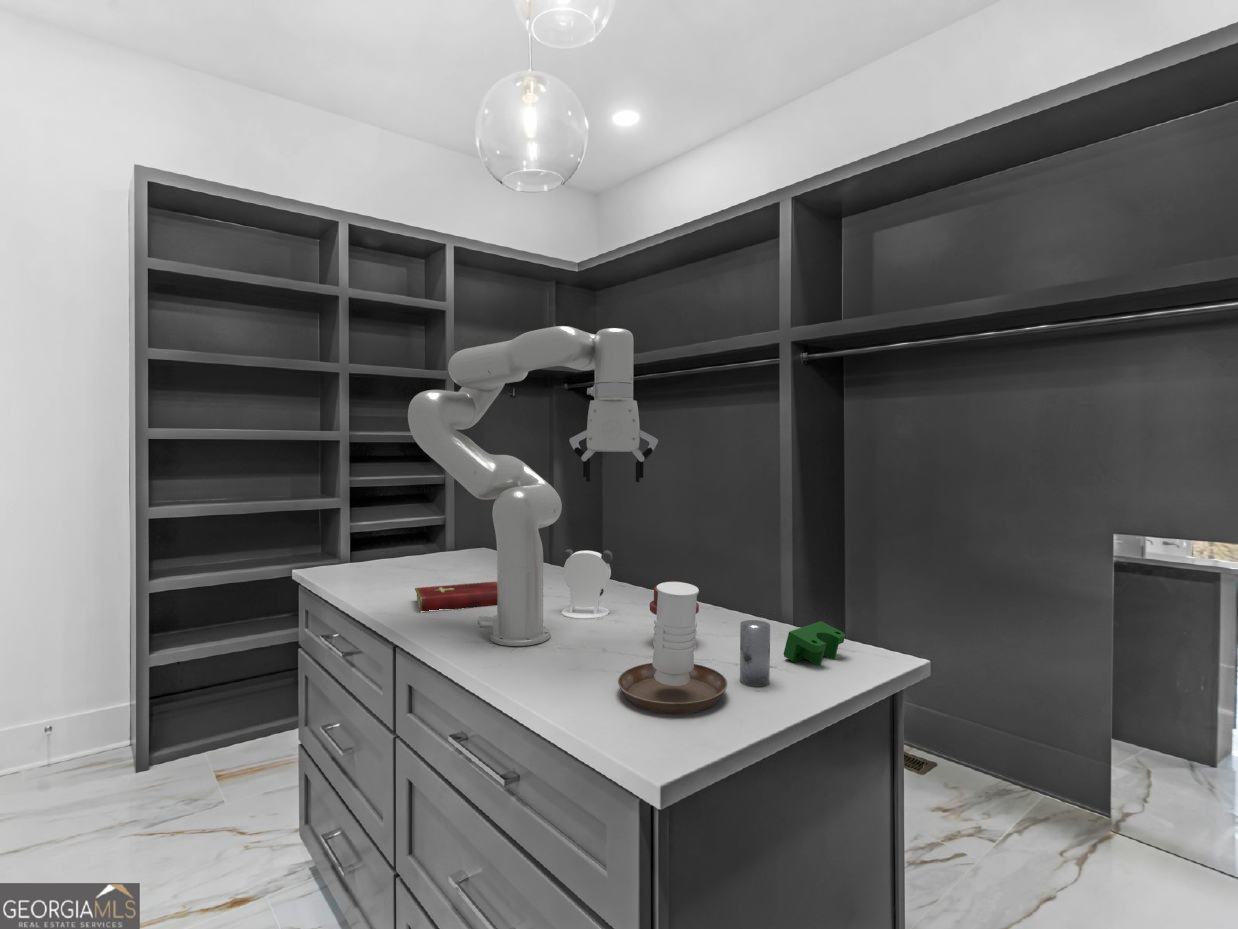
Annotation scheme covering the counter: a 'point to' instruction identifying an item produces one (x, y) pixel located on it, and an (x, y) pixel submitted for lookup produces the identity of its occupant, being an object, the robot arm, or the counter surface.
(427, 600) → the hardcover book
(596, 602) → the panda figurine
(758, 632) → the metal pillar
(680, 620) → the white ribbed cylinder
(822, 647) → the clamp
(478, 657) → the counter surface
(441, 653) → the counter surface
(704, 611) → the counter surface
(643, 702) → the plant saucer
